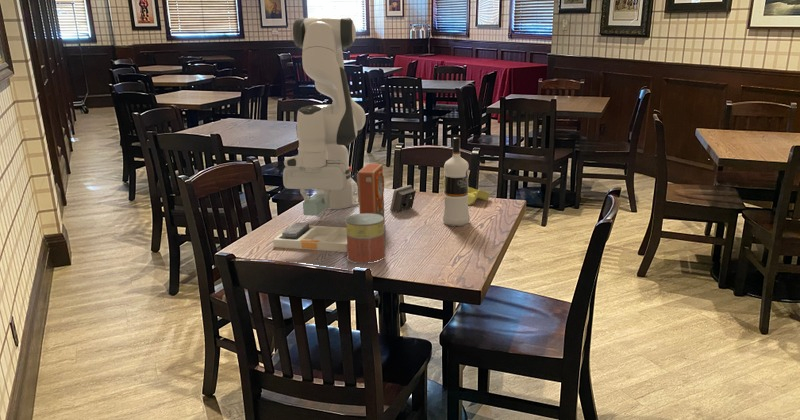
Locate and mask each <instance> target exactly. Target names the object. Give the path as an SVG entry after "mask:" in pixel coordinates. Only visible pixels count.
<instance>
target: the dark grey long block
mask: <svg viewBox="0 0 800 420" xmlns="http://www.w3.org/2000/svg"><path fill="white" fill-rule="evenodd" d="M309 225H310V223H309V222H295V223H294V224H292V225H290V226H289V227H290V228H289V227H288V228H287V229H285V230H286V231H285V230H284V231H282V232H283V233H282V232H281V233H282V237H283V239H296V240H297V239H299V238H300V237H301V236H302V235H304V234H305V233H306V232H307V231H309Z"/></svg>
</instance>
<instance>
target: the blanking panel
mask: <svg viewBox="0 0 800 420" xmlns="http://www.w3.org/2000/svg"><path fill="white" fill-rule="evenodd" d="M325 195H326V194H317V193H314V195H312V196H310V197H311V198H309V199H308V200H306V201H305V202H304V201H303V202H302V209H303V216H310V217H312V216H313V217H314V216H315V217H318V216H319V215H320V214H322V213H323V212H324V211H325V210H327V208H328V207H330V198H329V197H328V203H327V204H323V203H322V198H323V197H325Z"/></svg>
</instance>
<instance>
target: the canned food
mask: <svg viewBox="0 0 800 420" xmlns="http://www.w3.org/2000/svg"><path fill="white" fill-rule="evenodd" d="M384 217H385V216H384ZM384 217H383V216H382V215H379V214H374V213H361V214H360V213H356V214H351V215H349V216H347V217H345V225H346V227H345V228H346V229H347V248H348V251H347V252H348V253H347V260H348V261H350V262H352V263H354V262H356V263H355V264H360V263H368V262H374V261H377V260H380V259H382V258H384V257H385V258H386V250H385V249H386V248H385V243H386V241H385V221H384ZM385 258H384V259H385ZM368 264H369V263H368Z"/></svg>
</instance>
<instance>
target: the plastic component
mask: <svg viewBox="0 0 800 420" xmlns="http://www.w3.org/2000/svg"><path fill="white" fill-rule="evenodd" d="M442 185H443V186H442V187H443V190H444V191H445V177H443V179H442ZM468 195H469V197H468V206H472V205H474V203H475V202H476V200H477V199H478V200H481V201H485V202H488V200H489V198H490V195H491V193H489V192H487V191H485V190H482V189H476V188H474V187H470V186H468Z"/></svg>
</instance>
